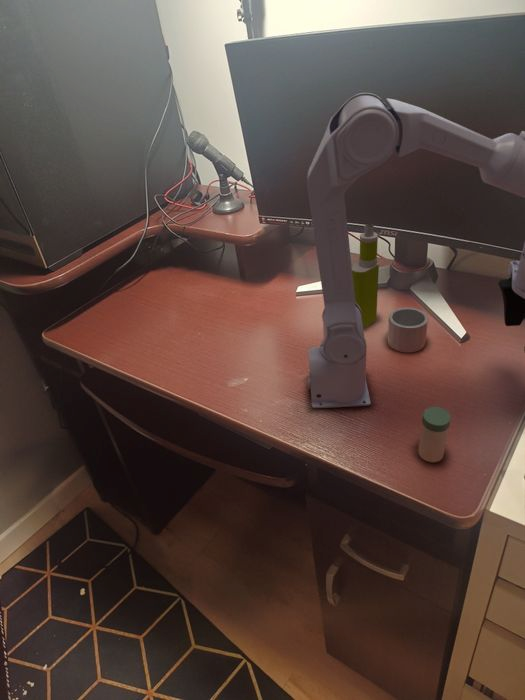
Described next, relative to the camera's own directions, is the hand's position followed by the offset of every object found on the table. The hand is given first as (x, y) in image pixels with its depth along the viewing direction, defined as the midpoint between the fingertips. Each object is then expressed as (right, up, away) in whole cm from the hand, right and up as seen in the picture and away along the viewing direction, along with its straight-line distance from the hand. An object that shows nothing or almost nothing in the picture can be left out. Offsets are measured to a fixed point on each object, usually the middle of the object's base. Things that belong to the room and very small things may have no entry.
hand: (522, 339), depth 69 cm
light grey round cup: (-12, 0, +19) cm, 22 cm away
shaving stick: (-15, -16, -3) cm, 22 cm away
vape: (-18, +4, +26) cm, 32 cm away
